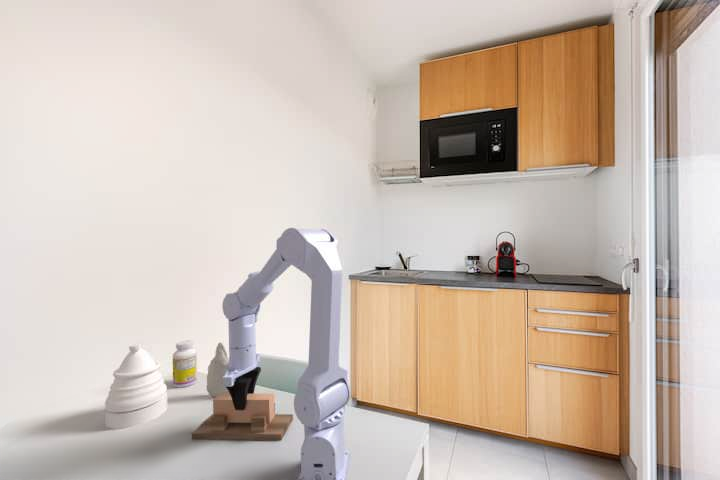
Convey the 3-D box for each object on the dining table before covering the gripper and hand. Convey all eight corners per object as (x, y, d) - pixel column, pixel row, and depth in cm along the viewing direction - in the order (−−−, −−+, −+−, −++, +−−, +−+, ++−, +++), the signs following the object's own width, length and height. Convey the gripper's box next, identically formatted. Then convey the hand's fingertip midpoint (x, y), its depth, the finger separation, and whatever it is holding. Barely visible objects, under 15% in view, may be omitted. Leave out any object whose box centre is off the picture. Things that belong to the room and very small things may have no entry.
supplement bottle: (177, 380, 100) (177, 340, 100) (200, 378, 101) (199, 338, 102) (169, 389, 93) (168, 346, 94) (193, 386, 95) (192, 344, 95)
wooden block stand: (281, 440, 66) (281, 419, 66) (191, 438, 68) (191, 419, 68) (292, 419, 74) (292, 401, 74) (212, 418, 76) (211, 401, 76)
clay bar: (269, 422, 69) (269, 399, 69) (213, 422, 70) (212, 399, 70) (274, 415, 72) (273, 393, 72) (220, 415, 73) (220, 393, 73)
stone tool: (235, 394, 88) (234, 341, 89) (228, 399, 85) (226, 344, 86) (210, 392, 91) (209, 340, 91) (202, 397, 88) (201, 343, 88)
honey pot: (163, 419, 76) (162, 345, 77) (97, 434, 71) (96, 354, 71) (170, 398, 88) (169, 333, 89) (113, 409, 82) (112, 340, 83)
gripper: (240, 336, 79) (241, 390, 79) (207, 355, 65) (209, 422, 64) (267, 336, 78) (268, 390, 78) (240, 355, 64) (242, 423, 64)
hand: (243, 405), depth 71 cm, fingers closed on clay bar, 3 cm apart
